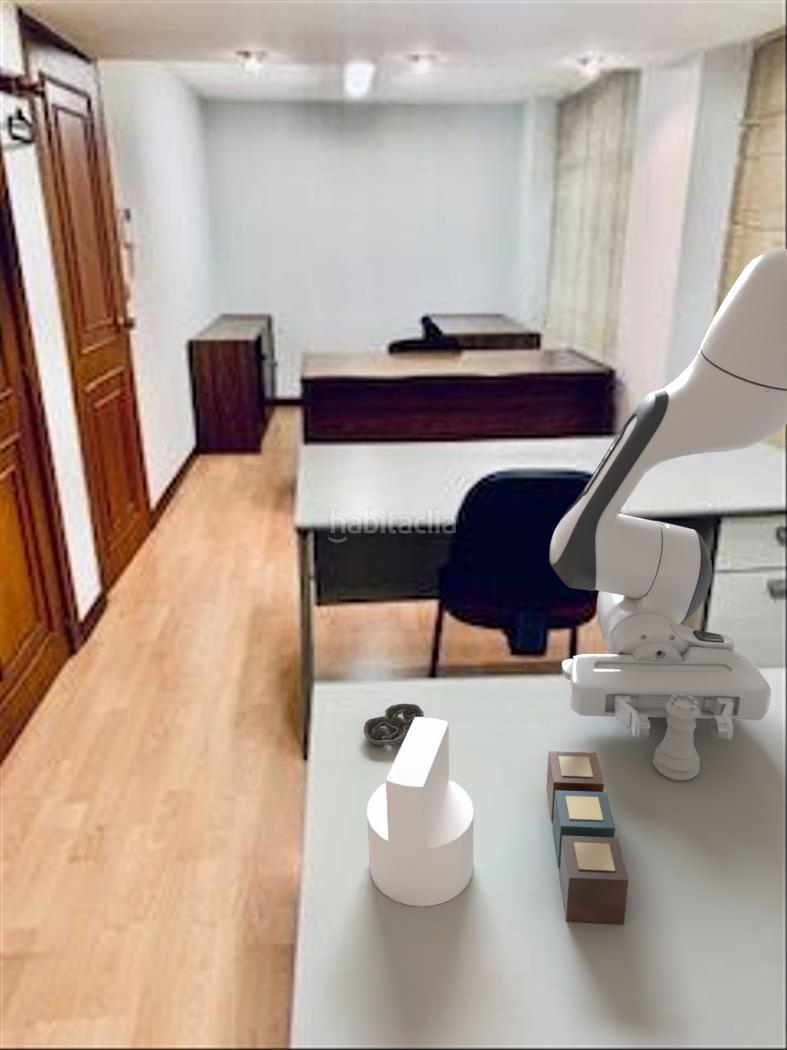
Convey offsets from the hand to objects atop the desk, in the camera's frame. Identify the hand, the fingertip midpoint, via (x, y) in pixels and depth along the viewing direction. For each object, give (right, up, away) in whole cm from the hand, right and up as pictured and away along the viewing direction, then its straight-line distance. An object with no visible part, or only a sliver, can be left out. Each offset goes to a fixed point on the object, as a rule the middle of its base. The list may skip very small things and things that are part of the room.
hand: (683, 732), depth 74 cm
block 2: (-12, -10, -12) cm, 20 cm away
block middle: (-12, -8, -7) cm, 16 cm away
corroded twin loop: (-28, -3, +10) cm, 30 cm away
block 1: (-11, -6, -2) cm, 13 cm away
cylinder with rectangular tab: (-26, -9, -8) cm, 29 cm away
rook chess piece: (0, -5, +3) cm, 5 cm away
